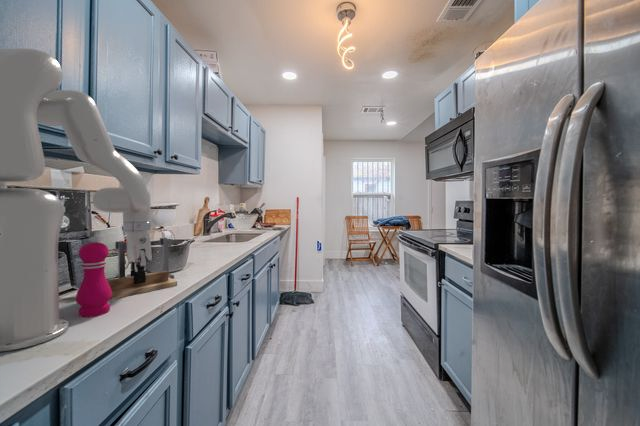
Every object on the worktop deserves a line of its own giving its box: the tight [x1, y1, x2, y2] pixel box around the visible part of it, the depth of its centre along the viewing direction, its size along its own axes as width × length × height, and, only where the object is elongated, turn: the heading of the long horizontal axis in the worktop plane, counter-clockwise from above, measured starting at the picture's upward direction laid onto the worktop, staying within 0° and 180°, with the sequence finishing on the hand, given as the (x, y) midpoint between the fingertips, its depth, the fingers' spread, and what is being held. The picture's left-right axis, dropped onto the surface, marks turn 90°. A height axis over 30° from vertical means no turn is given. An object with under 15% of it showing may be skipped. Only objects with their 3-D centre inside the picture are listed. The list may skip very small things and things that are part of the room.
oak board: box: [108, 277, 178, 301], centre depth 89 cm, size 22×8×2 cm, turn 139°
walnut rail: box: [106, 270, 168, 291], centre depth 89 cm, size 18×2×3 cm, turn 140°
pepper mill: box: [75, 236, 112, 318], centre depth 70 cm, size 7×7×20 cm
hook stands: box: [114, 237, 175, 280], centre depth 99 cm, size 18×6×15 cm, turn 139°
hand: (138, 281), depth 89 cm, fingers closed on walnut rail, 2 cm apart
